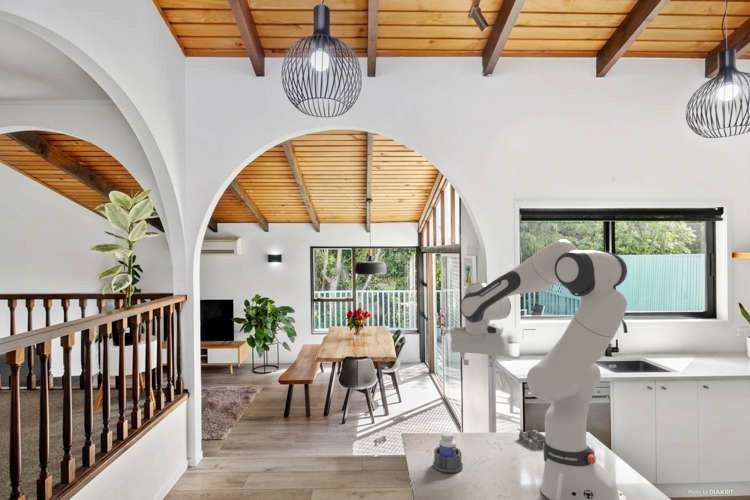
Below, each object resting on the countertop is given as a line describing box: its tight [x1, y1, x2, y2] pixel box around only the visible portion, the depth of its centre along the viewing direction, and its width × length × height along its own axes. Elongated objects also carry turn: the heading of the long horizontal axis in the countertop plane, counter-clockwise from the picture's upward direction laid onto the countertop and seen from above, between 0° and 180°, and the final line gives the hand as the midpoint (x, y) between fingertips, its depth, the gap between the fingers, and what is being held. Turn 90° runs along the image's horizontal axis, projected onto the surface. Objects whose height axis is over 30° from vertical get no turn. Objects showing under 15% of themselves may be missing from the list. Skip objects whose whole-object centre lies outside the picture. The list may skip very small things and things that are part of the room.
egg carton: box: [517, 428, 545, 450], centre depth 162 cm, size 11×8×4 cm
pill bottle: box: [438, 431, 457, 456], centre depth 144 cm, size 5×5×10 cm
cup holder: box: [432, 446, 464, 475], centre depth 144 cm, size 10×10×5 cm
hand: (478, 365), depth 159 cm, fingers open, 8 cm apart
